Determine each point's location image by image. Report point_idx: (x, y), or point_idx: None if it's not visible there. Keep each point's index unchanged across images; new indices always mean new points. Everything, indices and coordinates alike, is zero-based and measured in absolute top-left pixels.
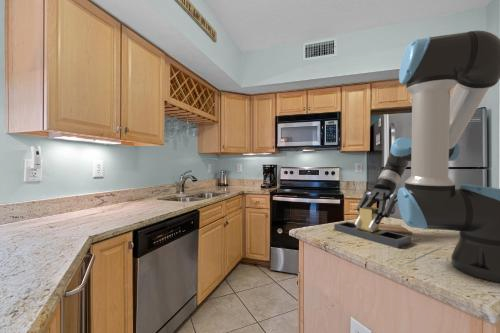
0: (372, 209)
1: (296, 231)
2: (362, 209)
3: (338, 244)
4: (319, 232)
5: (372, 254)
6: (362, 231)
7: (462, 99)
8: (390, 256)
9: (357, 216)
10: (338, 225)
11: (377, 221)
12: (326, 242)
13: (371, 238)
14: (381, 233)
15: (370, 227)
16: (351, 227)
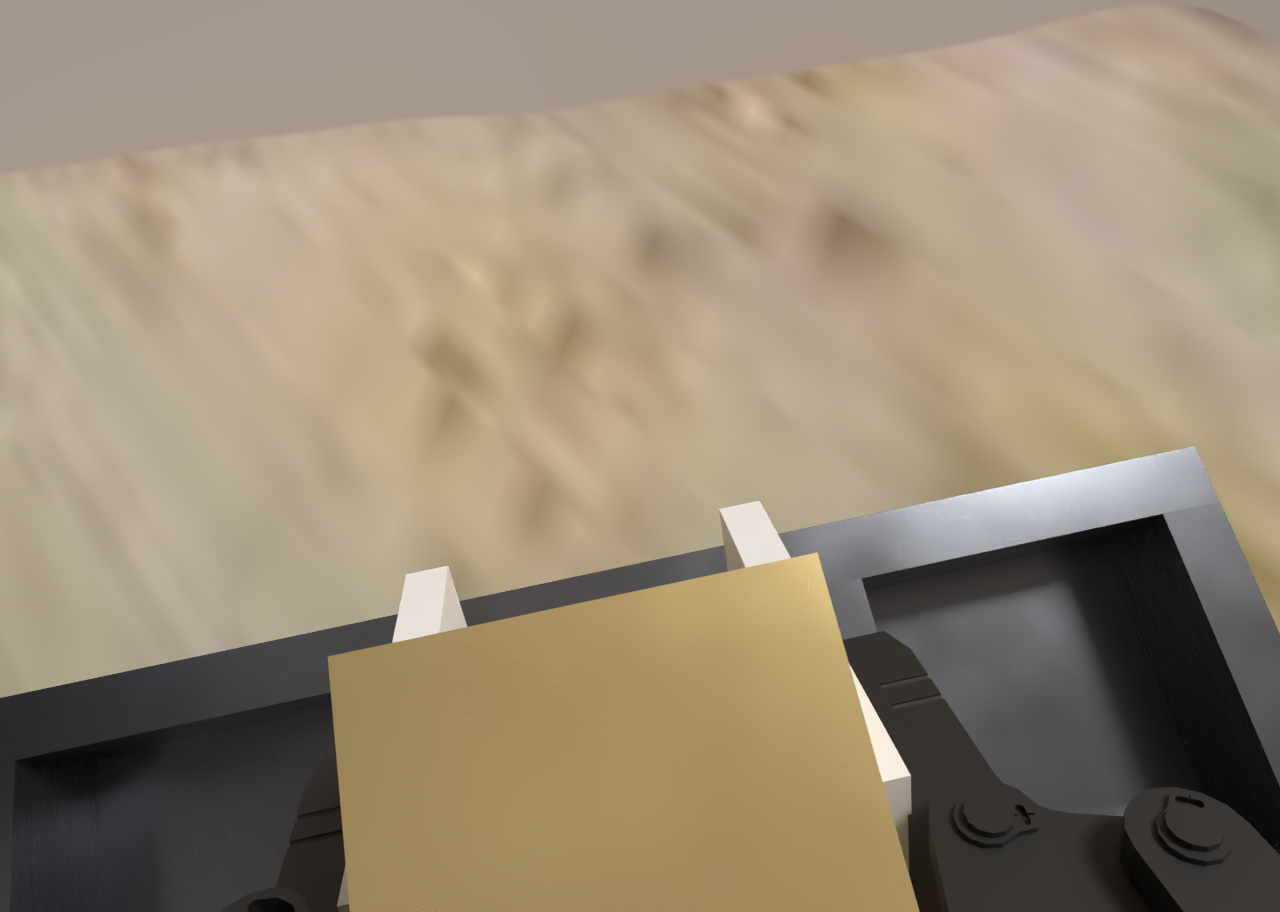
0: (381, 774)
1: (1237, 24)
2: (695, 583)
3: (589, 185)
4: (1129, 263)
5: (169, 303)
6: (609, 588)
7: None
8: (18, 438)
9: (900, 660)
10: (1101, 467)
11: (320, 773)
12: (704, 108)
13: None
14: None
15: (405, 582)
16: None
